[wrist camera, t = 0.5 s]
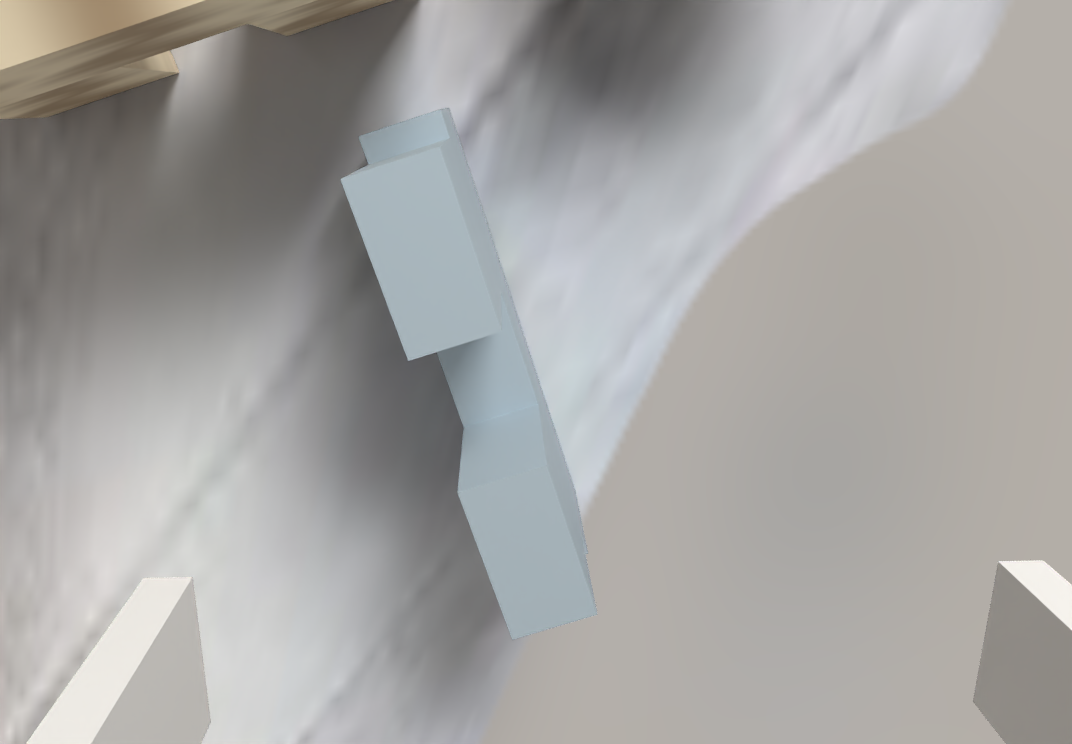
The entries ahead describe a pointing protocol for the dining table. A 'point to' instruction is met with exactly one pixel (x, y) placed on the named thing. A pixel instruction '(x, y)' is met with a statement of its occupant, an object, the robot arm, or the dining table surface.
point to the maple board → (124, 43)
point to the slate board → (475, 365)
